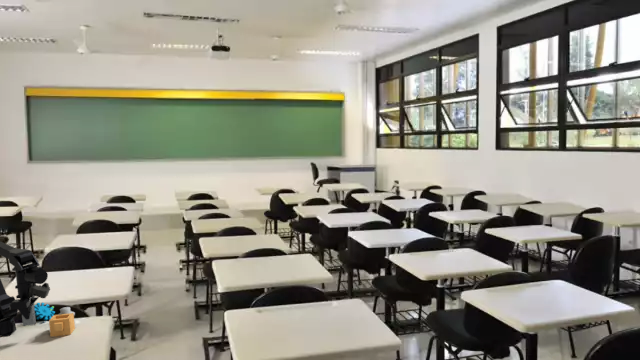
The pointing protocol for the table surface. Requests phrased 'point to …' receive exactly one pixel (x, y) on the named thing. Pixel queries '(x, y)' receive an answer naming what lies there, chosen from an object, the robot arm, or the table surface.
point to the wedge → (30, 317)
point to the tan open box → (62, 323)
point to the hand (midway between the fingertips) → (28, 318)
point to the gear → (44, 311)
